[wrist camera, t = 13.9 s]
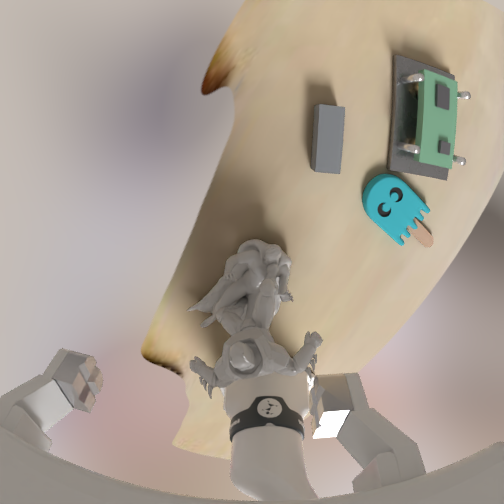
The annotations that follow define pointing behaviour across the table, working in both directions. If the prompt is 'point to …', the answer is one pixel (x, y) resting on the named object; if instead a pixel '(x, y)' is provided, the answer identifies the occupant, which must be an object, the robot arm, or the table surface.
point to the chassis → (411, 119)
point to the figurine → (251, 318)
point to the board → (436, 119)
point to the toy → (395, 208)
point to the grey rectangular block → (327, 138)
